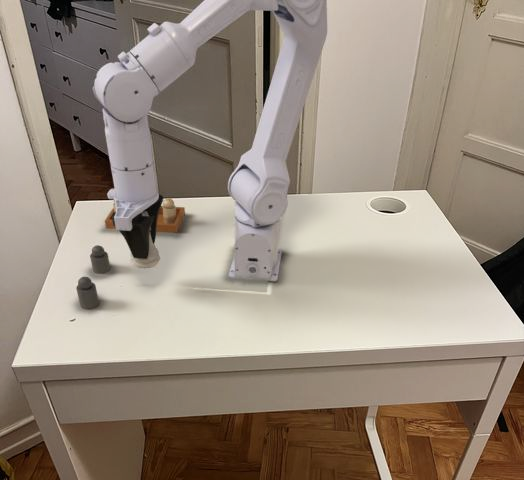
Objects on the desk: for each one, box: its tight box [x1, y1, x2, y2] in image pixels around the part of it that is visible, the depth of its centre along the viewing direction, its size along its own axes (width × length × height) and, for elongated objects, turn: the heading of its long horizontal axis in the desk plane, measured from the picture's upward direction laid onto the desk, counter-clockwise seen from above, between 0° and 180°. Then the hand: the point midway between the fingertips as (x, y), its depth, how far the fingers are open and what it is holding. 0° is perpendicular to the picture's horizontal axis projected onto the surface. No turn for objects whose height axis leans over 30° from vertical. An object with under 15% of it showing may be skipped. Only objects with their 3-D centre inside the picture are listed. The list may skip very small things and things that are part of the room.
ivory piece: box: [162, 197, 177, 224], centre depth 104 cm, size 2×2×5 cm
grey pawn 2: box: [89, 244, 111, 275], centre depth 92 cm, size 3×3×5 cm
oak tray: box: [104, 205, 186, 234], centre depth 105 cm, size 7×13×2 cm, turn 84°
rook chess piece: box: [130, 211, 161, 269], centre depth 84 cm, size 4×4×8 cm
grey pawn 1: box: [75, 276, 100, 310], centre depth 85 cm, size 3×3×5 cm
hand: (144, 250), depth 85 cm, fingers closed on rook chess piece, 3 cm apart
